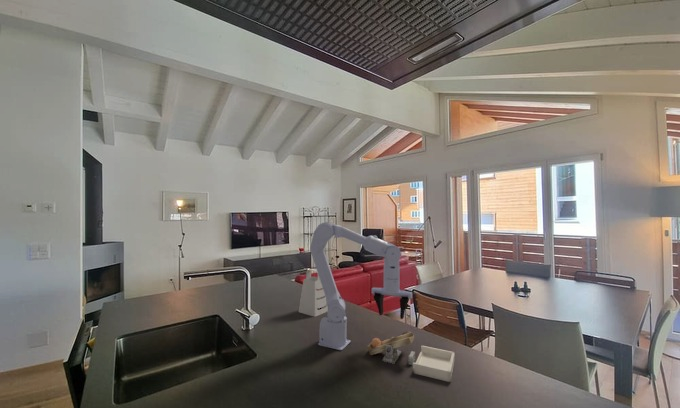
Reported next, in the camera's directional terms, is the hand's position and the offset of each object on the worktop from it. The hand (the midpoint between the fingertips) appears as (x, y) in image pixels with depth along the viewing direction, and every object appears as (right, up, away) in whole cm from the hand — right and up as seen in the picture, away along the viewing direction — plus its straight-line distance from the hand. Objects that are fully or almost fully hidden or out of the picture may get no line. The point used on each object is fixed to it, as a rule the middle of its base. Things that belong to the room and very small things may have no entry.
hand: (391, 316), depth 103 cm
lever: (0, -7, -6) cm, 9 cm away
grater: (-31, -12, +36) cm, 49 cm away
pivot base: (+1, -10, -10) cm, 14 cm away
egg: (-6, -7, -6) cm, 11 cm away
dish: (+11, -10, -15) cm, 21 cm away
